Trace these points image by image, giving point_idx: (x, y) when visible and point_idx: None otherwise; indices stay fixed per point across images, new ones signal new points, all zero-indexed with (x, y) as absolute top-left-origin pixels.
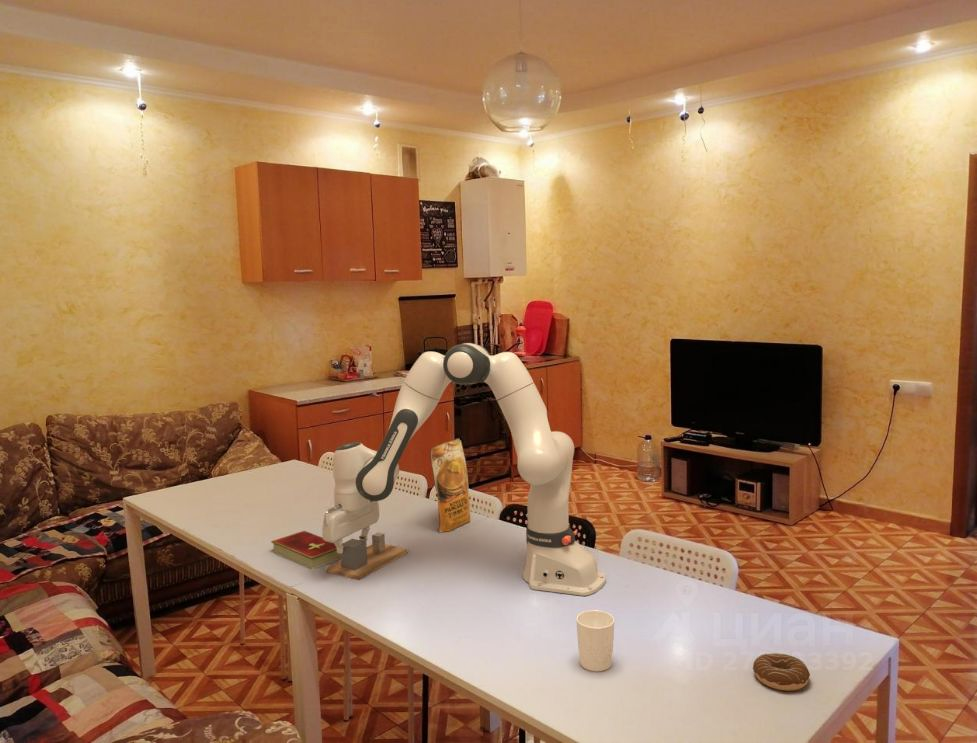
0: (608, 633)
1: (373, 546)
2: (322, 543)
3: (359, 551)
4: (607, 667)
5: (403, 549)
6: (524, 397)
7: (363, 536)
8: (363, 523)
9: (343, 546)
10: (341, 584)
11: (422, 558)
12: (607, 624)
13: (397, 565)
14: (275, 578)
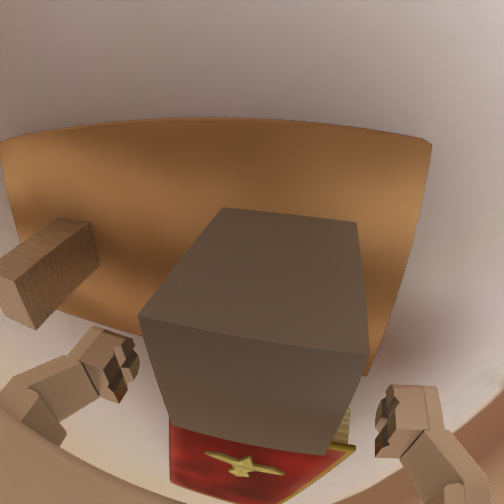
0: None
1: (76, 280)
2: (206, 455)
3: (282, 290)
4: None
5: (7, 153)
6: None
7: (99, 375)
8: (31, 501)
9: (403, 434)
10: (495, 214)
11: (20, 33)
12: None
13: (116, 57)
14: None
